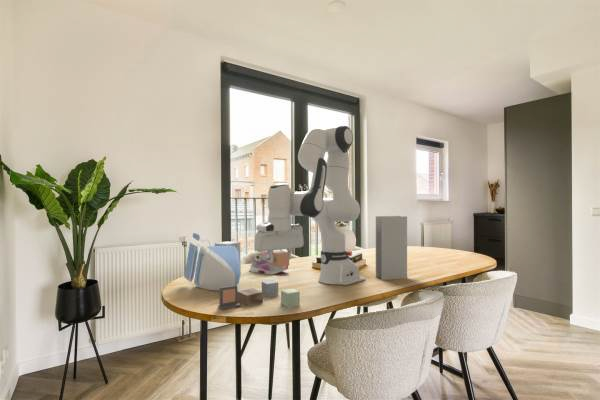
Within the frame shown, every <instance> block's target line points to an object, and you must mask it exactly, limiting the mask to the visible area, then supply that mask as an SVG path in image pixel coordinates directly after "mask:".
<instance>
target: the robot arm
mask: <svg viewBox="0 0 600 400" xmlns="http://www.w3.org/2000/svg"><path fill="white" fill-rule="evenodd" d="M304 136H305V137H304V139H303V141H302V142H301V145H300V147H299V150H298V154H297V160H298V163H299V164H300V166H301V167H302V168H303V169H304V170H306V171H307V172H310V173H312V179H311V183H310V188H309V189H308V190H306V191H296V190H293V189H292V188H291V187H290V185H289V184H288V183H286V182H281V183H275V184H271V185H270V186H269V188H268V192H267V193H268V194H267V208H268V217H267V221H264V222H262V223H259V224H257V225H256V226H255V229H256V231H257V232H255V235H254V246H253V247H254V251H256V252H258V253H264V252H266V254H268V255H269V257H270V262H276V258H275V257H273V255H272V253H273V252H274V251H283V250H286V252H289V261H290V260H291V255H292V253H293V249H298V248H302V247H304V245H305V244H304V243H305V241H304V239H305V238H304V234H303V232H304V231H303V229H304V227H303V226H302V225H301V224H299V223H296V224H293V223H292V216H297V217H298V216H300V217H306V218H312V219H313V220H314V222H315V223H316V224H317V227H318V229H319V231H320V239H321V251H320V263H321V264H320V272H319V276H318V279H317V281H318V282H319V283H322V284H325V285H326V284H327V285H339V286H340V285H342V286H348V285H352V284H355V283H356V284H357V283H359V282H362V281H365V278H366V277H364V276H363V275H361V274H360V269H359V268H360V267H359V266H358V265H357V264H356V263H354V262H353V260H351V259H349V257H352V256H353V252H352V251H347V250H346V235H345V233H344V231H343V230H341V229H340V228H339V227H338V226H337V225H336V222H341V223H342V222H343V223H344V222H351V221H356V220H357V219H358V217H359V216H360V213H361V206H360V203H359V202H358V200H357V199H355V198H354V197H353V195H352V194H351V192H350V189H349V188H350V187H349V174H350V173H349V171H350V155H349V154H350V153H349V150H350V147H351V146H352V144H353V141H354V135H353V131H352V129H350V127H349V126H347V125H337V126H328V127H326V128H319V127H313V128H311V129H310V130H309V131H308V132H307V133H306V135H304ZM326 153H327V160H325V155H326ZM325 187H326V188H327V189H328V190H329V191H331V192H332V194H333V195H332V197H324V192H325V189H326V188H325Z"/></svg>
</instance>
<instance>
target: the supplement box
mask: <svg viewBox="0 0 600 400" xmlns="http://www.w3.org/2000/svg"><path fill="white" fill-rule="evenodd" d="M214 246H235V247H236V248H237V251H238V253H239V260H240V261H241V242H240V241H231V240H230V241H228V240H227V241H220V242H214ZM241 269H242V268H241V264H240V270H241ZM241 274H242V271H241V272H240V276H241Z"/></svg>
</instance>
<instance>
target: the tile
mask: <svg viewBox="0 0 600 400" xmlns="http://www.w3.org/2000/svg"><path fill="white" fill-rule="evenodd" d="M218 291H219V294H218V295H219V296H218V297H219V299H218V300H219V303H218V305H217V308H218V309H219V310H220V311H223V310H228V309H229V310H230V309H234V308H239V307H240V306H241V303H240V302H238V301H237V291H238V285H234V286H227V287H220V288H219V290H218Z"/></svg>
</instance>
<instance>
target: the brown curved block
mask: <svg viewBox="0 0 600 400" xmlns="http://www.w3.org/2000/svg"><path fill="white" fill-rule="evenodd" d="M263 302H264V294H263V292H262V290H259V289H256V288H247V289H242V290H237V303H239V304H241V305H245V306H246V307H248V306H253V305H256V304H261V303H263Z"/></svg>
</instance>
